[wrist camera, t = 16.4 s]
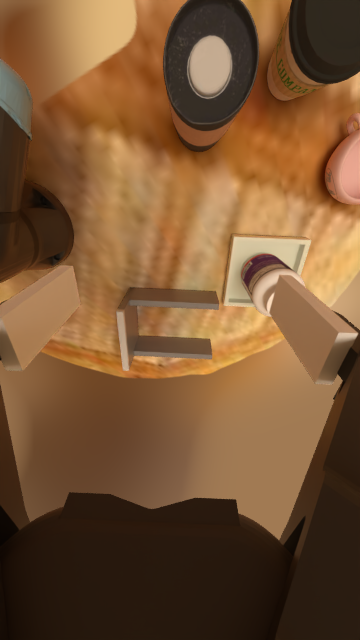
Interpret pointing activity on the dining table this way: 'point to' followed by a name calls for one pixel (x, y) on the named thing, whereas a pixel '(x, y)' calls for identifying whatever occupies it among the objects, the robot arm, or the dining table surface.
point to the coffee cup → (315, 47)
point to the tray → (251, 245)
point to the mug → (345, 167)
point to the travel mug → (209, 68)
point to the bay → (153, 344)
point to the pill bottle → (264, 279)
